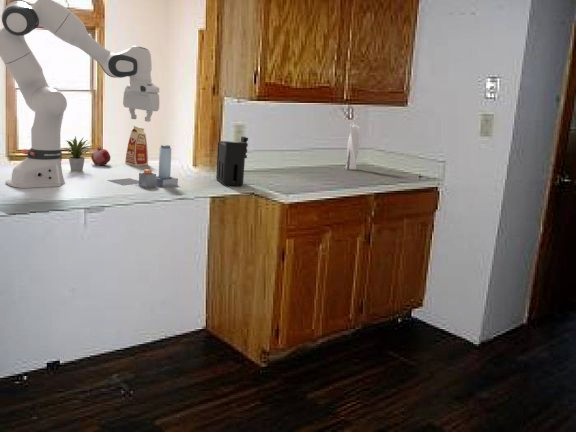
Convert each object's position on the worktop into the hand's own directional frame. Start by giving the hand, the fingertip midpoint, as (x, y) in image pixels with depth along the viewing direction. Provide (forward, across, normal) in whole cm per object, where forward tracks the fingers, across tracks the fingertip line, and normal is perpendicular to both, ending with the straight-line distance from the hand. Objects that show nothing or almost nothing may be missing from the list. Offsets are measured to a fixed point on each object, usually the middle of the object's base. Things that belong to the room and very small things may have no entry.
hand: (140, 120), depth 249 cm
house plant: (+28, -41, -6) cm, 50 cm away
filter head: (+28, +6, +4) cm, 29 cm away
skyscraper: (+32, +14, +143) cm, 148 cm away
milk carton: (+29, -47, +33) cm, 65 cm away
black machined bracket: (+30, +13, +42) cm, 53 cm away
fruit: (+28, -52, +14) cm, 61 cm away
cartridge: (+27, +6, +8) cm, 29 cm away
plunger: (+22, +6, -1) cm, 23 cm away
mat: (+28, -6, -3) cm, 29 cm away
